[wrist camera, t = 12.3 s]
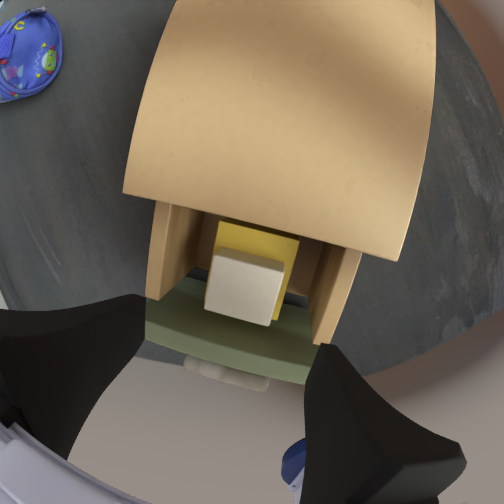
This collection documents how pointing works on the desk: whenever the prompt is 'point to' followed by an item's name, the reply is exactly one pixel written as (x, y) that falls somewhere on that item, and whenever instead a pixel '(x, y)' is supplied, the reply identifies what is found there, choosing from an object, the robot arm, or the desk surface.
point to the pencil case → (29, 53)
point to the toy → (249, 270)
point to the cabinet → (291, 116)
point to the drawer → (232, 329)
